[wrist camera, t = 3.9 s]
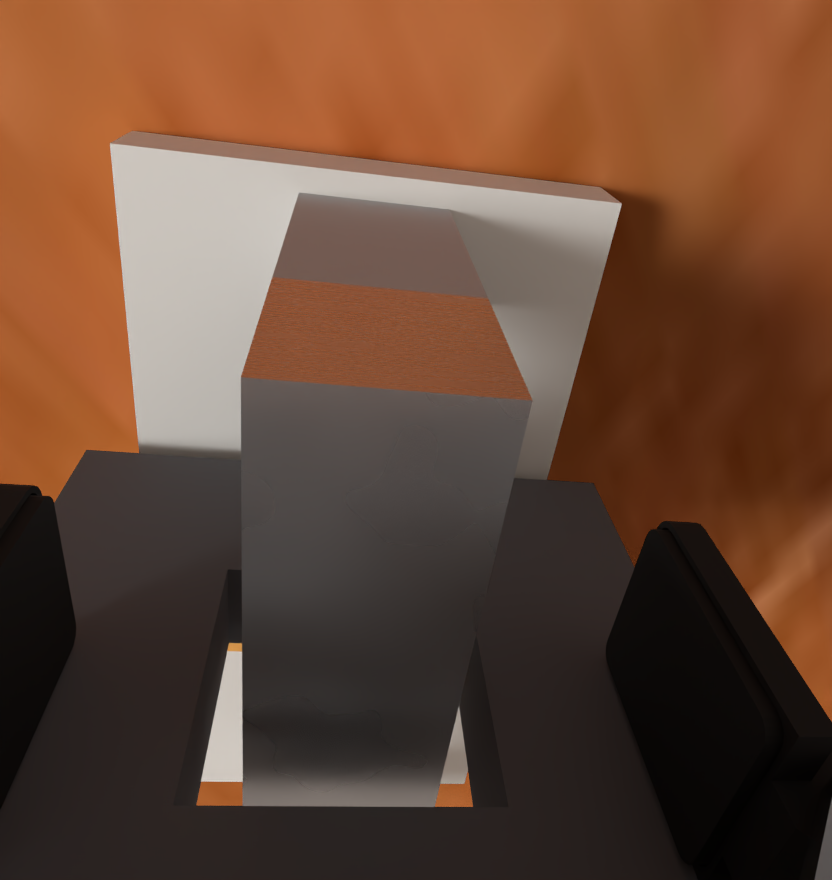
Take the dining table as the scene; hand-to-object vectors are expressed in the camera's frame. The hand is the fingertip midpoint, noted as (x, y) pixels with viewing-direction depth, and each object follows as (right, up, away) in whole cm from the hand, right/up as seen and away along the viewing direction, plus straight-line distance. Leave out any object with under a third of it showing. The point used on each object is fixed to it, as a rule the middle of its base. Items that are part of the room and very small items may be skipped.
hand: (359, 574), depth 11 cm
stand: (-1, 0, +9) cm, 9 cm away
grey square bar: (-1, -4, +4) cm, 5 cm away
